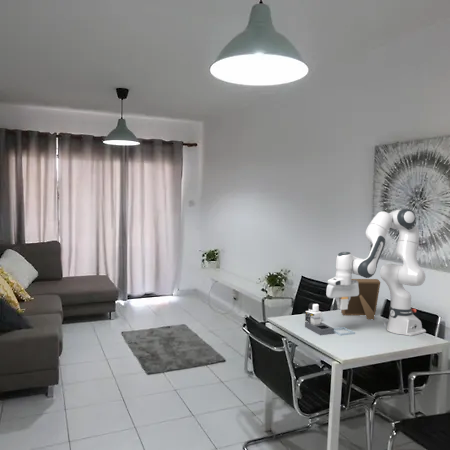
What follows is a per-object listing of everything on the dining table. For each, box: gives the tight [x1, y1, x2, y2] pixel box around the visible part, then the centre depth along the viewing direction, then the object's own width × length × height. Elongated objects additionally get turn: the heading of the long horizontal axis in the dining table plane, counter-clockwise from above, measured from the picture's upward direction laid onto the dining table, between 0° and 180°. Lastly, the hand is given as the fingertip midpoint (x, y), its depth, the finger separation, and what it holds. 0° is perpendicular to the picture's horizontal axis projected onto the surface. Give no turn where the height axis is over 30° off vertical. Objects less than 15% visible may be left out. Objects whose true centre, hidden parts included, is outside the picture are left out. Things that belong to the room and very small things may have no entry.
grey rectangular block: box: [311, 315, 322, 325], centre depth 246 cm, size 4×4×7 cm
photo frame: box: [340, 278, 381, 321], centre depth 275 cm, size 15×22×25 cm
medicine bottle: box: [304, 302, 323, 322], centre depth 261 cm, size 7×7×12 cm
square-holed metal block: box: [304, 321, 335, 336], centre depth 243 cm, size 16×9×4 cm, turn 21°
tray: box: [333, 326, 356, 337], centre depth 240 cm, size 10×10×2 cm
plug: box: [336, 297, 348, 310], centre depth 239 cm, size 4×4×7 cm
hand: (342, 304), depth 239 cm, fingers closed on plug, 4 cm apart
